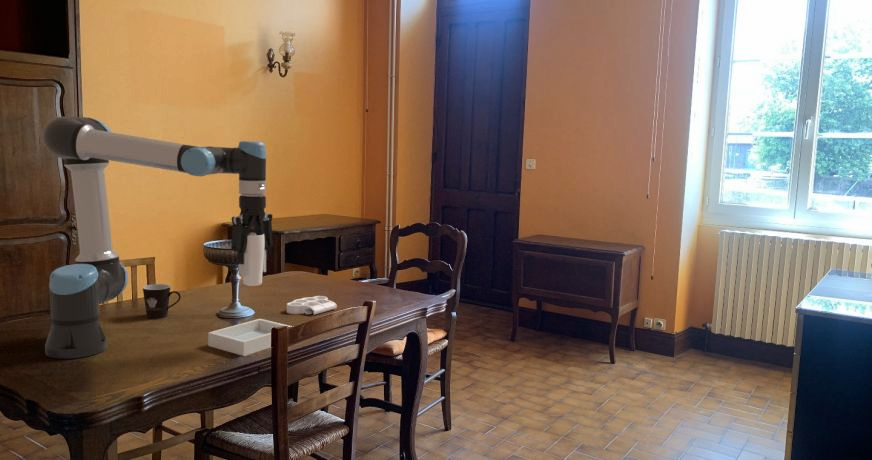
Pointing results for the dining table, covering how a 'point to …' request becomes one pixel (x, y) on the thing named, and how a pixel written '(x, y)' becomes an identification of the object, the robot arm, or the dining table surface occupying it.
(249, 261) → the drinking glass
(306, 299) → the white flat molded slab
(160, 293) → the coffee mug
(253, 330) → the white shallow tray
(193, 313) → the dining table surface
